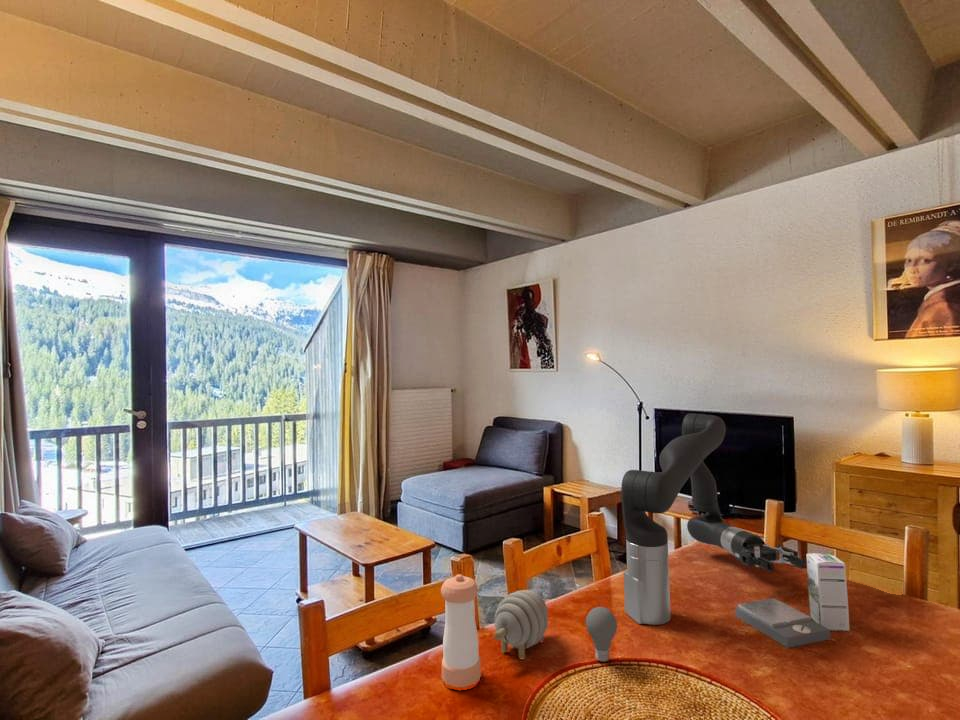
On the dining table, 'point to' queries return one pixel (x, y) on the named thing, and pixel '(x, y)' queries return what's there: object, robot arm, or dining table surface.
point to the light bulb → (601, 630)
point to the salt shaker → (460, 633)
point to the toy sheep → (521, 620)
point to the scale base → (788, 630)
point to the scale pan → (774, 612)
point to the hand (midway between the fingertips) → (788, 566)
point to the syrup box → (828, 591)
